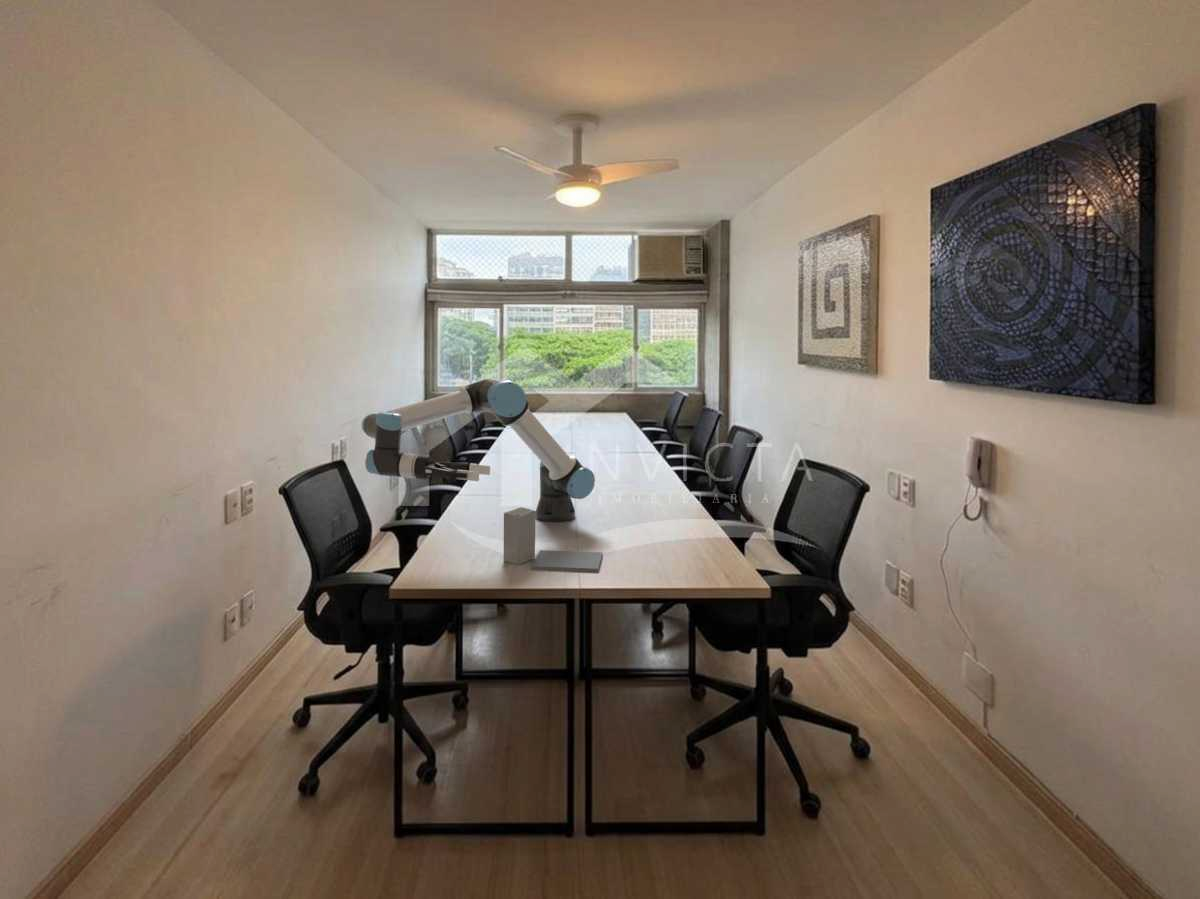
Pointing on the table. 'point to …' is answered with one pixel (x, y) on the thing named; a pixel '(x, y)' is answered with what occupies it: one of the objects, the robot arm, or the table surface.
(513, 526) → the skincare box
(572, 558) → the slate mat
